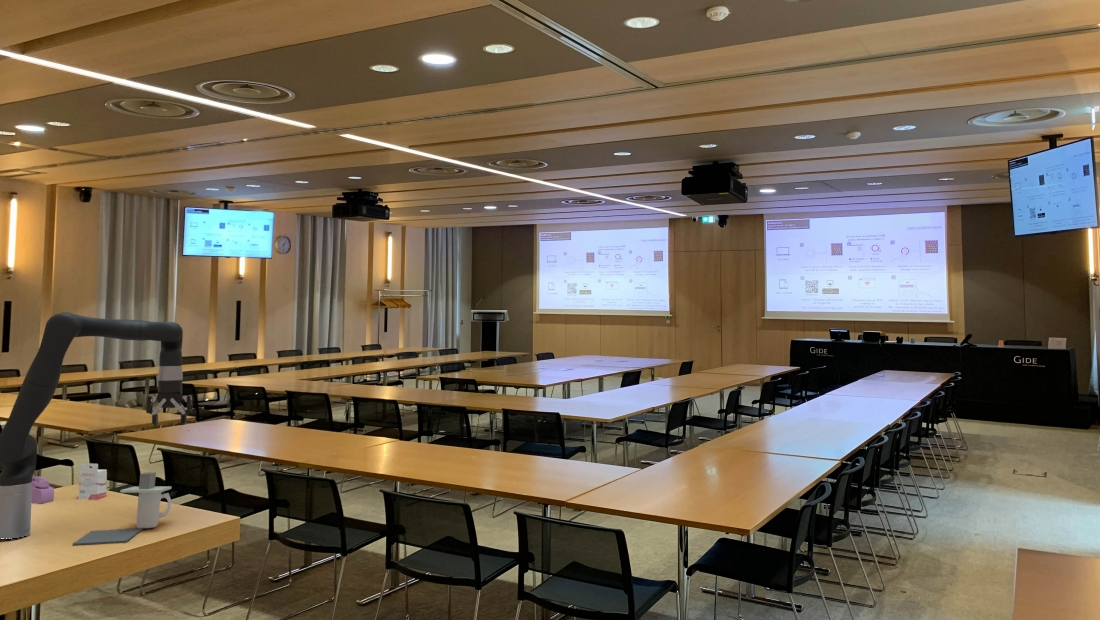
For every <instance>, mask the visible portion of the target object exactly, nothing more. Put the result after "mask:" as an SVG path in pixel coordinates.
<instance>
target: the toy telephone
mask: <svg viewBox="0 0 1100 620" xmlns="http://www.w3.org/2000/svg"><path fill="white" fill-rule="evenodd" d="M49 483H50V481H49V479H47V478H45V477H42V476H39V475H38V476H37V475H35V476H34V475H33V477H32V501H31V504H35V503H36V504H35V505H37V504H38V505H40V504H47V503H51V502H54V498H55V488H54V487H52V486H51V485H50V484H49Z"/></svg>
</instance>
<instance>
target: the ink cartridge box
mask: <svg viewBox="0 0 1100 620" xmlns="http://www.w3.org/2000/svg"><path fill="white" fill-rule="evenodd" d="M107 471H108V469H99V464H98V463H91V462H90V463H89V462H87V463H86V462H85V463H84V462H82V463H80V467H79V471H78V473H79V474H78V475H79V477H78V483H79V484H78V500H81V499H88V500H89V501H99V500H102V499H104V498H107V485H108V484H107V483H108V482H107V478H108V477H107V476H108V475H107V474H108V472H107ZM101 498H102V499H101Z"/></svg>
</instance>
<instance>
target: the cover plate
mask: <svg viewBox="0 0 1100 620" xmlns="http://www.w3.org/2000/svg"><path fill="white" fill-rule="evenodd" d="M156 476H157V472H156V471H153V472H152V471H149V472H147V471H146V472H143V473H140V474H139V484H138V486H131V487H128V488H124V489H120V491H119V493H125V494H126V493H130V494H131V493H134V494H135V493H138V494H139V493H149V492H161V493H162V492H165V491H170V490H172V486H171V485H170V486H169V485H168V486H161V485H160V486H156V485H155V484H156V478H157V477H156Z"/></svg>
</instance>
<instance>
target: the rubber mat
mask: <svg viewBox="0 0 1100 620" xmlns="http://www.w3.org/2000/svg"><path fill="white" fill-rule="evenodd" d="M143 529H144V528H136V527H135V528H122V529H121V528H120V529H118V528H117V529H100V530H91V531H89V532H88V533H87V534H85V535H83V536H82V537H80V538H79V539H77V540H76V541H74V542H73V543H72V547H73V546H87V545H89V546H90V545H91V546H92V545H106V544H109V545H110V544H124V543H125V544H126V543H128V542H130V541H131V540H132V539H133V538H135V537H136V536H137V535H138V534H140V533H141V532H142V531H143Z"/></svg>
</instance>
